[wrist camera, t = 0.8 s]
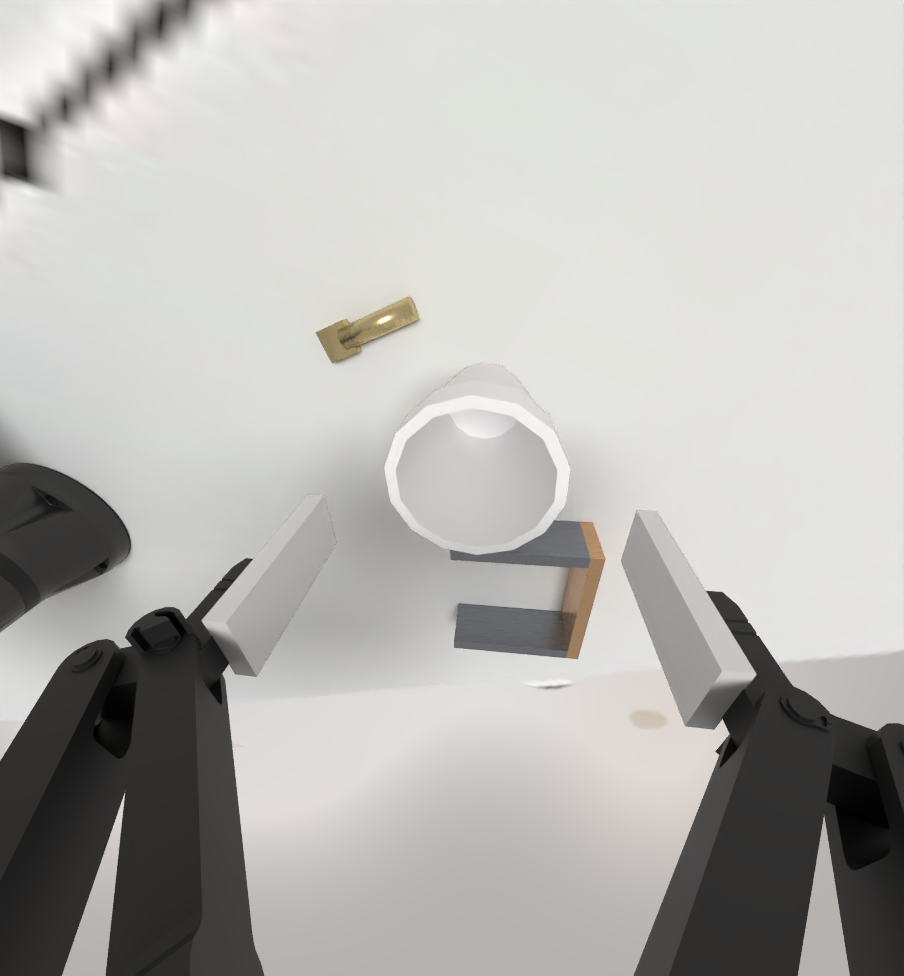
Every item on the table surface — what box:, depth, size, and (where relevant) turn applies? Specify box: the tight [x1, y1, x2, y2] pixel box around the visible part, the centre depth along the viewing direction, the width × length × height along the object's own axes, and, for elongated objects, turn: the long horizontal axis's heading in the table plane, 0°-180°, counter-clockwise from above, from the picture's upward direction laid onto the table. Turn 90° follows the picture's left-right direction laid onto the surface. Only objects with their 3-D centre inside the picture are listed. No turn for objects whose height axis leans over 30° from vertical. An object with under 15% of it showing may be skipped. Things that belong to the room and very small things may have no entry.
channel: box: [450, 521, 605, 659], centre depth 37 cm, size 13×14×5 cm
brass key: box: [316, 296, 419, 363], centre depth 26 cm, size 8×2×2 cm, turn 112°
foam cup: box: [384, 362, 570, 555], centre depth 24 cm, size 10×9×13 cm
